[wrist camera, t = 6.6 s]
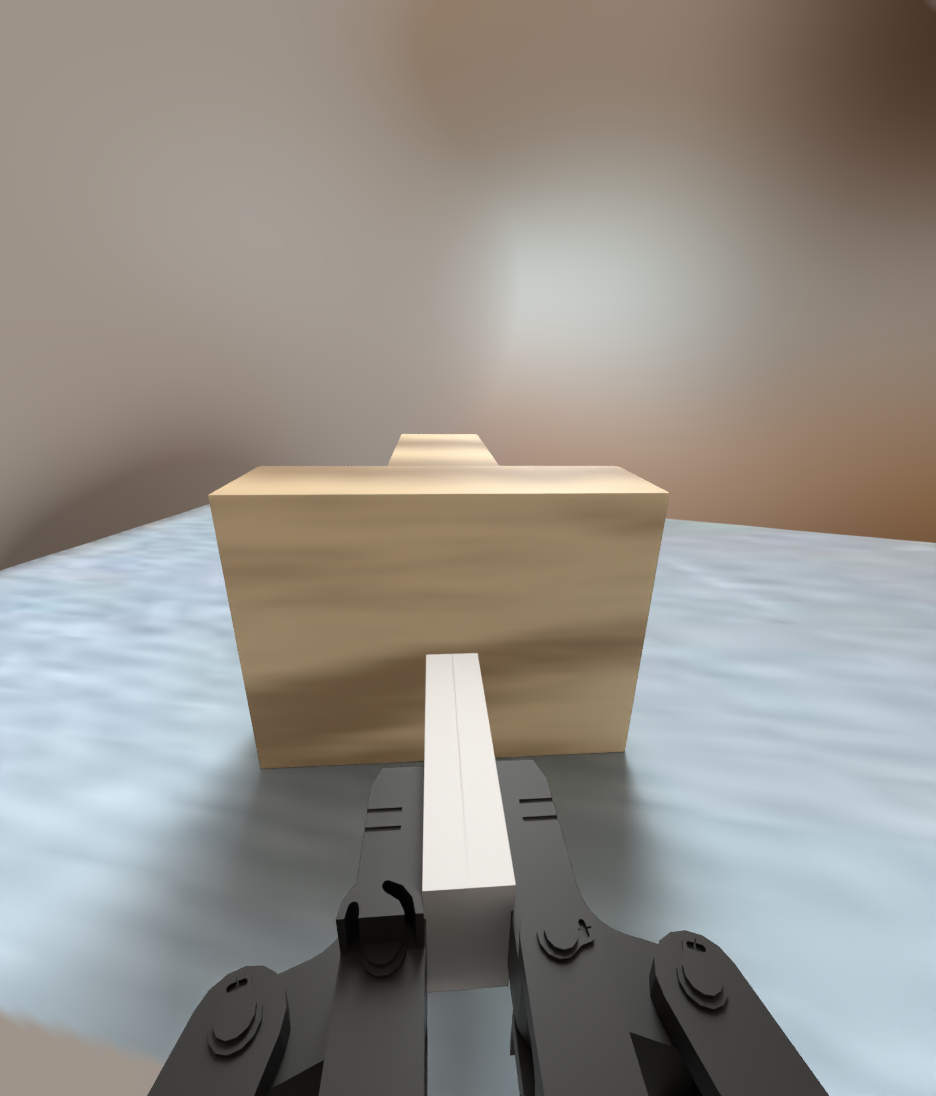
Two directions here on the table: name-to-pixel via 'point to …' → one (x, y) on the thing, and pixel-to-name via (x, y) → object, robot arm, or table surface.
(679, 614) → the table surface
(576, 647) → the oak T block
